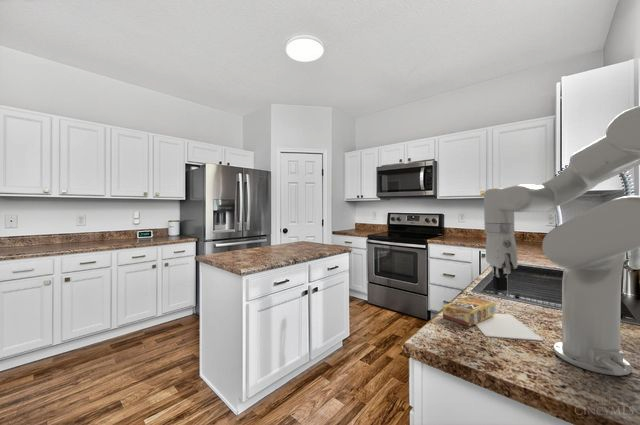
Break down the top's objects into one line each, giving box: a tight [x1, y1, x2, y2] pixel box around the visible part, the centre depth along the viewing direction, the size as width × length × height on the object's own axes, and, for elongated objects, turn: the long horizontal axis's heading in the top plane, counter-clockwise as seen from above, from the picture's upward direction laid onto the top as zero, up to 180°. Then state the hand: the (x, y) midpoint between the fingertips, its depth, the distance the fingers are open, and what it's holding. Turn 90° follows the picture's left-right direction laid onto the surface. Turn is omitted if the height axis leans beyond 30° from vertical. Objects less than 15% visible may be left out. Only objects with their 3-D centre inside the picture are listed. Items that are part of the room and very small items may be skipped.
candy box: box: [441, 295, 497, 327], centre depth 87 cm, size 9×4×15 cm
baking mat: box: [474, 313, 544, 342], centre depth 81 cm, size 18×14×1 cm
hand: (500, 289), depth 81 cm, fingers closed
